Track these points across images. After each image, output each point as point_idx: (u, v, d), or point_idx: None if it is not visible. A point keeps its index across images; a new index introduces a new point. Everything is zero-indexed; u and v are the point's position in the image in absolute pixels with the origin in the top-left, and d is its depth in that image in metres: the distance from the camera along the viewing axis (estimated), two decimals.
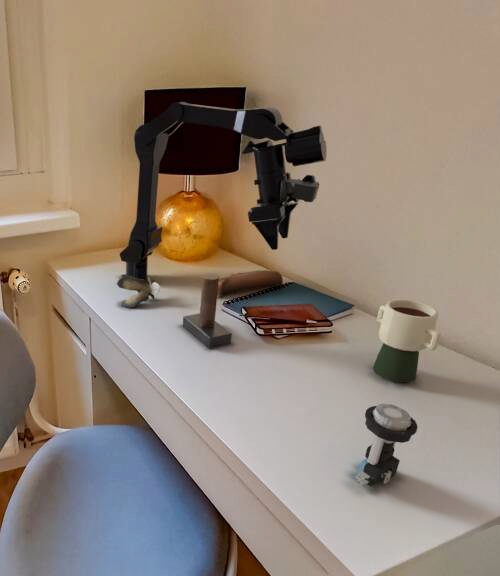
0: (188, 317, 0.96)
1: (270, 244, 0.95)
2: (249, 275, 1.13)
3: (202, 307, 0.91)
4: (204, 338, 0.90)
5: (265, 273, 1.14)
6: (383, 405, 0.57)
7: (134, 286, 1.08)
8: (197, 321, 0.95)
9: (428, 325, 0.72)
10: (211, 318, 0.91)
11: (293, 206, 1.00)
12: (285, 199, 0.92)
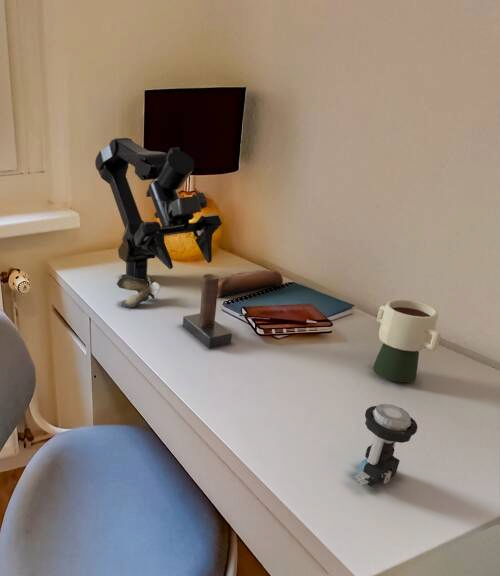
0: (188, 317, 0.96)
1: (165, 264, 0.95)
2: (249, 275, 1.13)
3: (202, 307, 0.91)
4: (204, 338, 0.90)
5: (265, 273, 1.14)
6: (383, 405, 0.57)
7: (134, 286, 1.08)
8: (197, 321, 0.95)
9: (428, 325, 0.72)
10: (211, 318, 0.91)
11: (206, 228, 0.97)
12: (168, 219, 0.96)
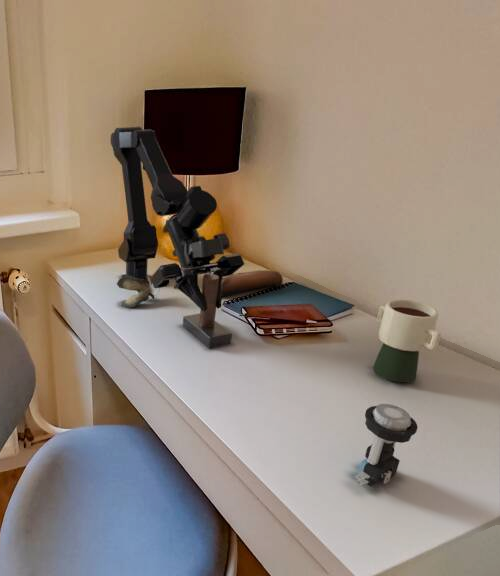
0: (188, 317, 0.96)
1: (199, 306, 0.91)
2: (249, 275, 1.13)
3: None
4: (204, 338, 0.90)
5: (265, 273, 1.14)
6: (383, 405, 0.57)
7: (134, 286, 1.08)
8: (197, 321, 0.95)
9: (428, 325, 0.72)
10: (212, 318, 0.91)
11: (215, 272, 0.91)
12: (189, 261, 0.91)
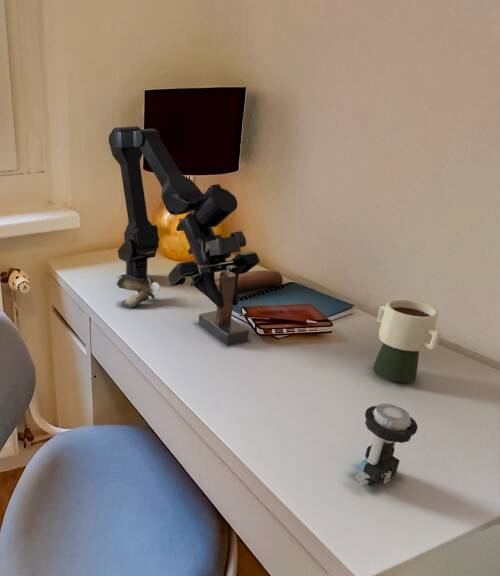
0: (204, 314, 0.97)
1: (215, 303, 0.92)
2: (249, 275, 1.13)
3: None
4: (221, 335, 0.91)
5: (265, 273, 1.14)
6: (383, 405, 0.57)
7: (134, 286, 1.08)
8: (213, 318, 0.96)
9: (428, 325, 0.72)
10: (228, 315, 0.92)
11: (231, 269, 0.92)
12: (205, 258, 0.91)
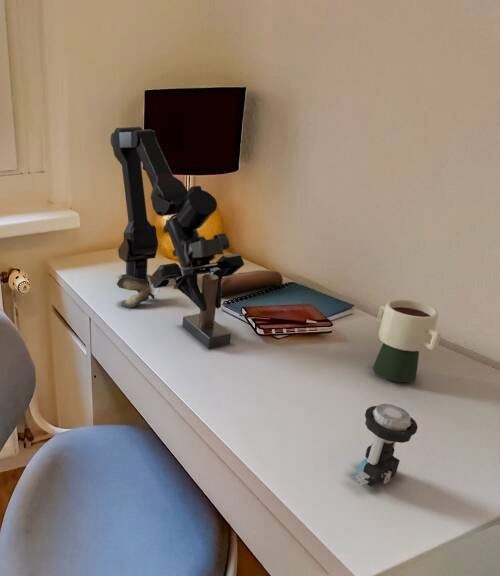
0: (188, 317, 0.96)
1: (198, 306, 0.91)
2: (249, 275, 1.13)
3: None
4: (203, 338, 0.90)
5: (265, 273, 1.14)
6: (383, 405, 0.57)
7: (134, 286, 1.08)
8: (197, 321, 0.95)
9: (428, 325, 0.72)
10: (211, 318, 0.91)
11: (215, 272, 0.91)
12: (188, 261, 0.90)
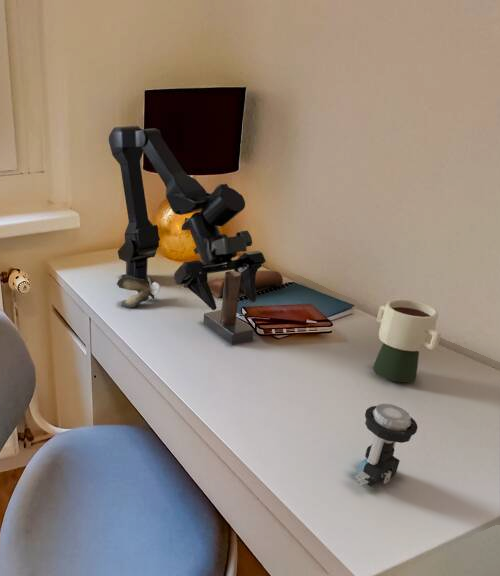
0: (209, 314, 0.98)
1: (208, 305, 0.91)
2: None
3: (224, 304, 0.92)
4: (226, 334, 0.91)
5: (265, 273, 1.14)
6: (383, 405, 0.57)
7: (134, 286, 1.08)
8: (218, 318, 0.96)
9: (428, 325, 0.72)
10: (233, 315, 0.92)
11: (249, 267, 0.93)
12: (211, 258, 0.92)
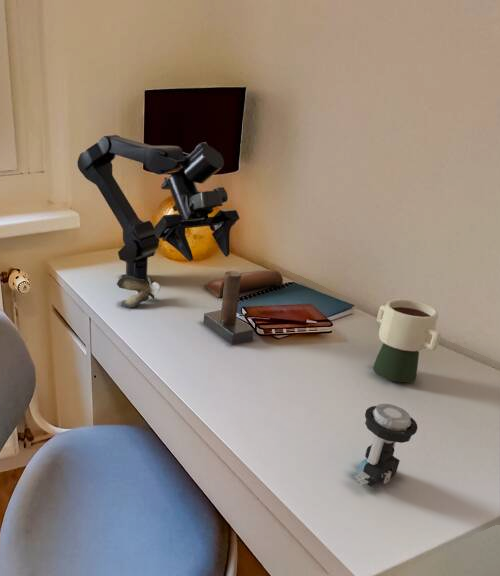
0: (209, 314, 0.98)
1: (185, 256, 0.97)
2: (249, 275, 1.13)
3: (224, 304, 0.92)
4: (226, 334, 0.91)
5: (265, 273, 1.14)
6: (383, 405, 0.57)
7: (134, 286, 1.08)
8: (218, 318, 0.96)
9: (428, 325, 0.72)
10: (233, 315, 0.92)
11: (224, 222, 0.99)
12: (189, 212, 0.97)
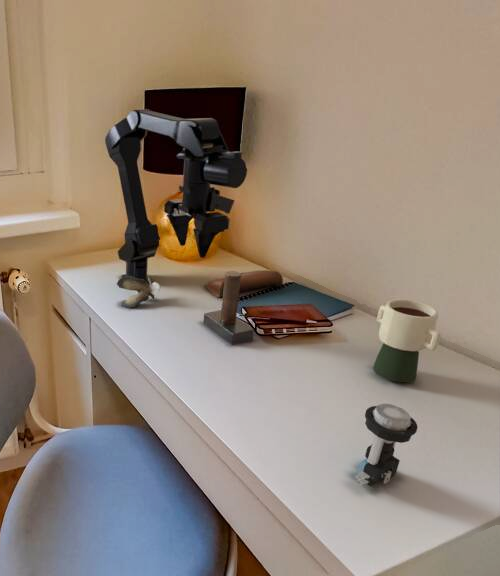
0: (209, 314, 0.98)
1: (201, 253, 0.98)
2: (249, 275, 1.13)
3: (224, 304, 0.92)
4: (226, 334, 0.91)
5: (265, 273, 1.14)
6: (383, 405, 0.57)
7: (134, 286, 1.08)
8: (218, 318, 0.96)
9: (428, 325, 0.72)
10: (233, 315, 0.92)
11: (192, 216, 1.06)
12: (213, 210, 0.98)
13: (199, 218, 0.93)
